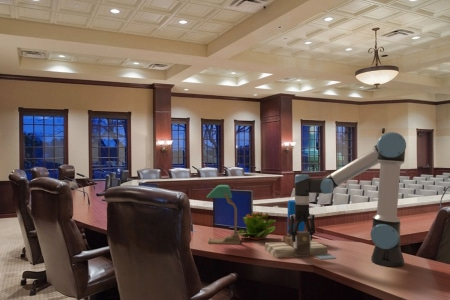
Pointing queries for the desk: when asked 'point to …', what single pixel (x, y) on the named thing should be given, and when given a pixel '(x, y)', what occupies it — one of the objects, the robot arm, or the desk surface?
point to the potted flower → (257, 226)
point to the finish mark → (325, 256)
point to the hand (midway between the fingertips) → (302, 247)
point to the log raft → (287, 251)
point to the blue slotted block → (291, 212)
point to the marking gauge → (299, 242)
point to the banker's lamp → (225, 192)
